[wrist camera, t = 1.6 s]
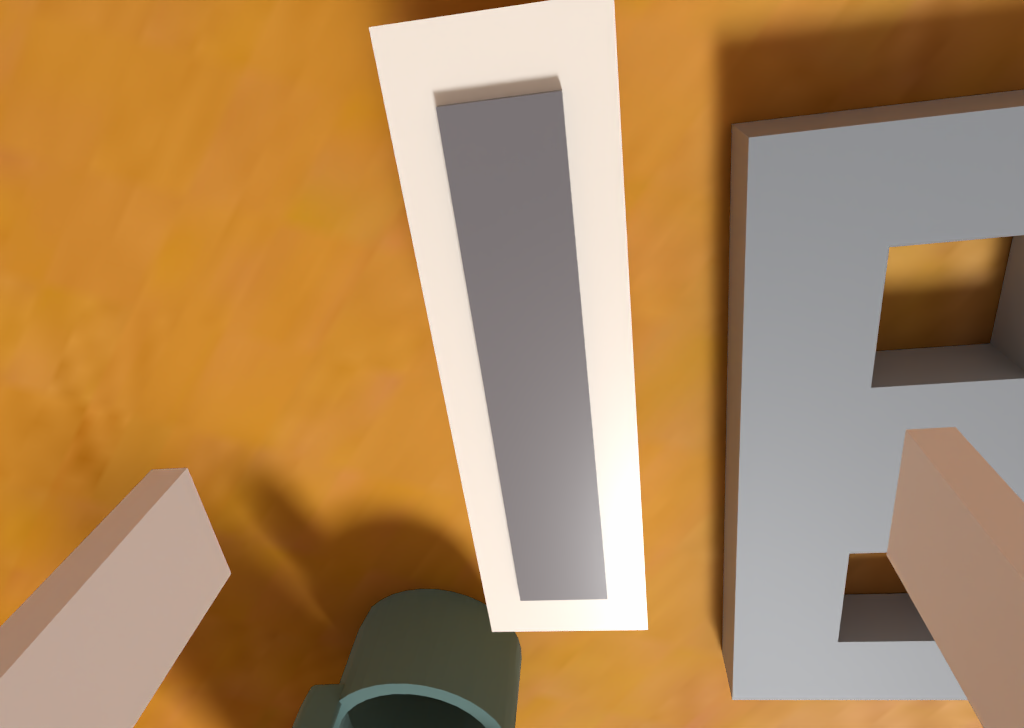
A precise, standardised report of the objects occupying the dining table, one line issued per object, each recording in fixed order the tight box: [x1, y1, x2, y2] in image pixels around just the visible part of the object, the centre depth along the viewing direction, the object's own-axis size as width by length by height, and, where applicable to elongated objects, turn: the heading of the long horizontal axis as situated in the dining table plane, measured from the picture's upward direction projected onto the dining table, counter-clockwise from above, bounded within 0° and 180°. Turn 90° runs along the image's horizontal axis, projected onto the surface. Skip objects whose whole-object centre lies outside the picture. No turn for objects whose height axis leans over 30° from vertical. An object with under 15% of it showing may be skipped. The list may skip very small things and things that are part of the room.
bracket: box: [292, 589, 521, 728], centre depth 30 cm, size 9×9×9 cm
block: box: [369, 0, 648, 632], centre depth 20 cm, size 16×4×9 cm, turn 7°
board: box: [722, 89, 1024, 700], centre depth 24 cm, size 24×13×2 cm, turn 7°
